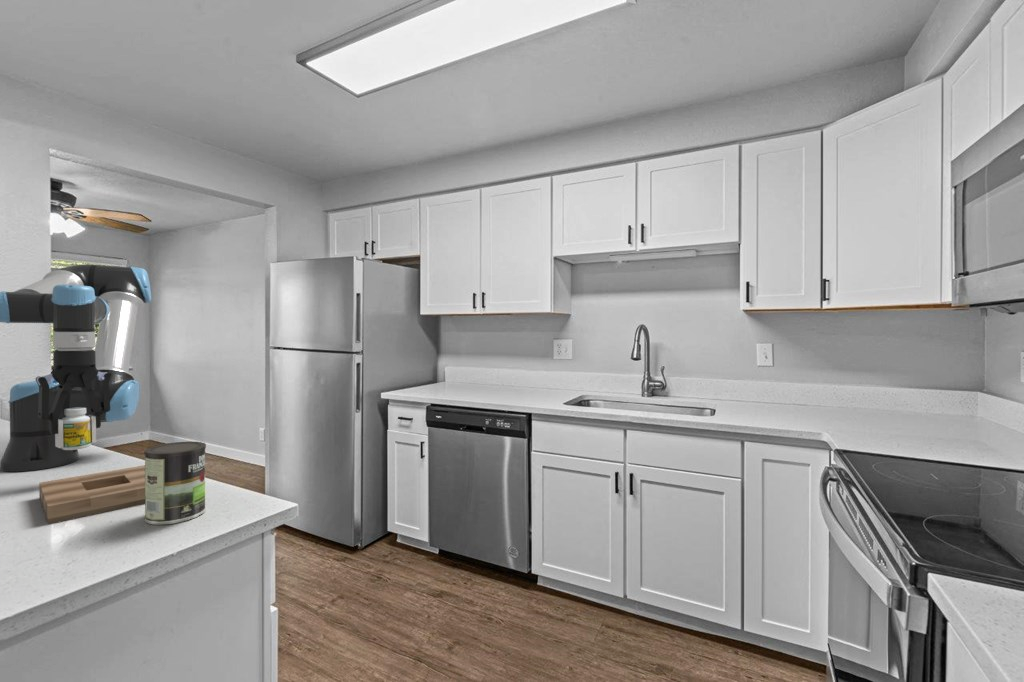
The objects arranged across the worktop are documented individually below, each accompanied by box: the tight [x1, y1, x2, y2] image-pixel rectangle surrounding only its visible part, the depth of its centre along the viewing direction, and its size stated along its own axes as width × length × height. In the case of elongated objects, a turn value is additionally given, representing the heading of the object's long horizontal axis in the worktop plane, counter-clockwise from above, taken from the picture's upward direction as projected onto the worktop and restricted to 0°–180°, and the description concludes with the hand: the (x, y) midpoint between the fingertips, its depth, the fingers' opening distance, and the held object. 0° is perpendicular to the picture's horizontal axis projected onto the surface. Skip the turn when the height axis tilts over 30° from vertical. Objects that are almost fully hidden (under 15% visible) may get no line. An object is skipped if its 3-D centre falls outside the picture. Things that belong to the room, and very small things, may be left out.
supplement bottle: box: [62, 407, 92, 450], centre depth 115 cm, size 5×5×10 cm
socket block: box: [38, 464, 145, 525], centre depth 106 cm, size 20×20×4 cm
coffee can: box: [143, 441, 207, 526], centre depth 97 cm, size 10×10×14 cm
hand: (76, 444), depth 115 cm, fingers closed on supplement bottle, 5 cm apart
